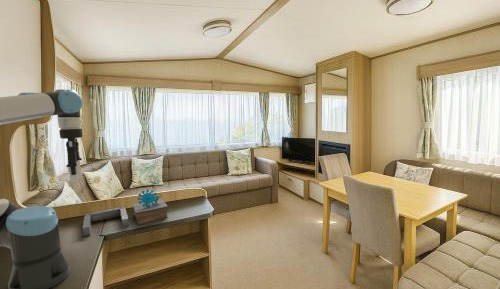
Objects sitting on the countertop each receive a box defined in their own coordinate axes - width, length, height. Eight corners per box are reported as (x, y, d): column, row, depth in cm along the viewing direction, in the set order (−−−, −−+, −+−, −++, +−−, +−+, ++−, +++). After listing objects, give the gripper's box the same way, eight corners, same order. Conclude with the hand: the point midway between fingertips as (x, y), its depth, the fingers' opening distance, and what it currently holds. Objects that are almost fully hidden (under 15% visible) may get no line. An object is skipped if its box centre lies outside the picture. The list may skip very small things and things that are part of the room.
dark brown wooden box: (168, 217, 125) (167, 206, 124) (136, 224, 117) (135, 213, 117) (162, 208, 138) (161, 198, 137) (133, 214, 130) (132, 203, 129)
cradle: (128, 226, 116) (128, 218, 116) (83, 236, 107) (82, 228, 106) (125, 213, 131) (124, 206, 131) (85, 221, 122) (84, 214, 121)
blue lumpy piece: (138, 206, 120) (137, 189, 126) (136, 212, 124) (136, 194, 130) (161, 205, 126) (159, 188, 131) (159, 210, 130) (157, 193, 135)
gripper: (79, 129, 90) (85, 184, 93) (83, 126, 112) (88, 171, 114) (54, 130, 87) (61, 187, 89) (63, 127, 108) (68, 174, 110)
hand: (76, 178), depth 102 cm, fingers open, 13 cm apart
